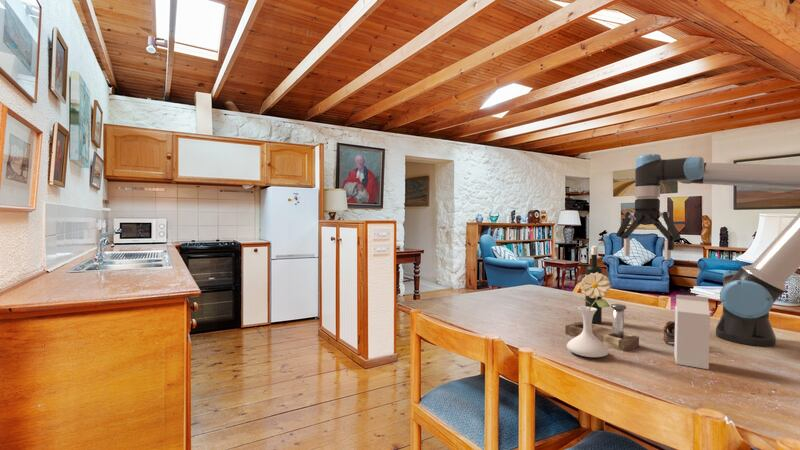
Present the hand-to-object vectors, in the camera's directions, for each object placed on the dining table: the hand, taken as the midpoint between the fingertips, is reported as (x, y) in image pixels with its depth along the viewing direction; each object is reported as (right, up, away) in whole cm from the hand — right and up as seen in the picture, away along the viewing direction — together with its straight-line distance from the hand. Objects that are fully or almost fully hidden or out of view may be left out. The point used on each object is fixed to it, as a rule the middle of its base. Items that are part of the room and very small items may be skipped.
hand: (646, 257), depth 137 cm
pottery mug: (+3, -27, -12) cm, 30 cm away
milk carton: (-6, -28, -29) cm, 41 cm away
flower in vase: (-32, -27, -23) cm, 48 cm away
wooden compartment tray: (-21, -27, -9) cm, 35 cm away
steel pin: (-18, -27, -14) cm, 35 cm away
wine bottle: (-12, -27, +13) cm, 32 cm away
